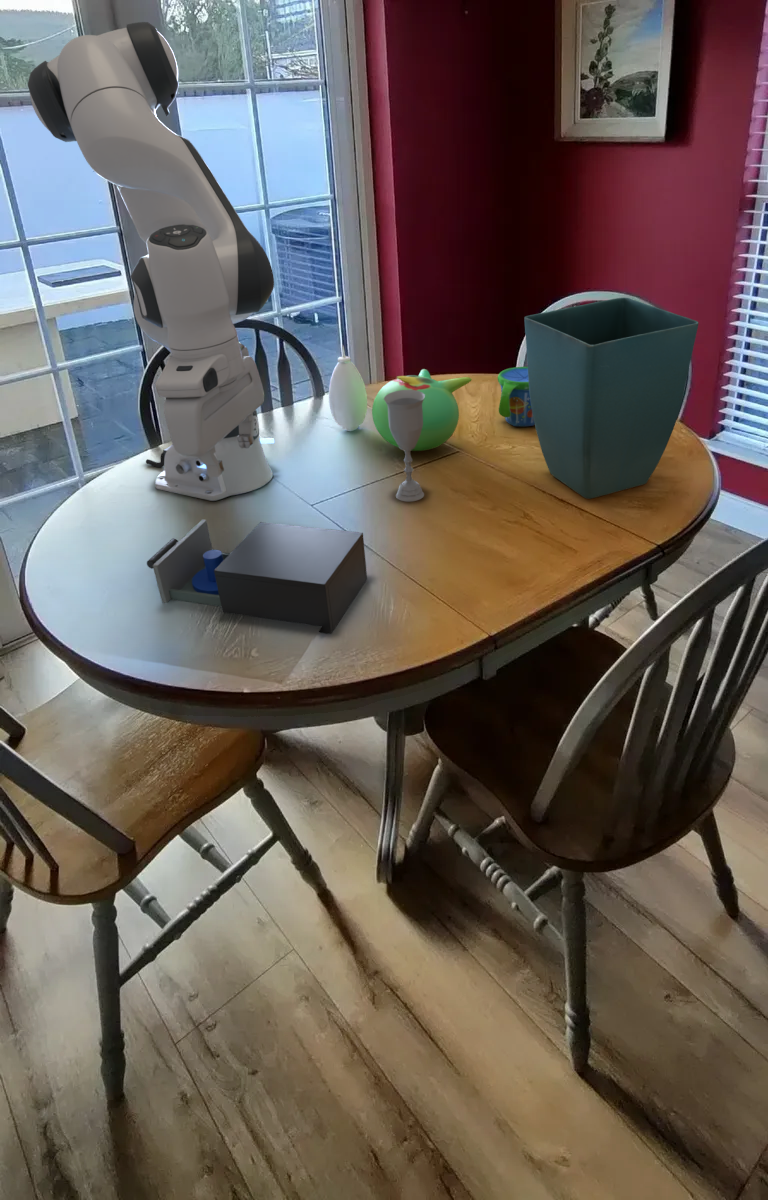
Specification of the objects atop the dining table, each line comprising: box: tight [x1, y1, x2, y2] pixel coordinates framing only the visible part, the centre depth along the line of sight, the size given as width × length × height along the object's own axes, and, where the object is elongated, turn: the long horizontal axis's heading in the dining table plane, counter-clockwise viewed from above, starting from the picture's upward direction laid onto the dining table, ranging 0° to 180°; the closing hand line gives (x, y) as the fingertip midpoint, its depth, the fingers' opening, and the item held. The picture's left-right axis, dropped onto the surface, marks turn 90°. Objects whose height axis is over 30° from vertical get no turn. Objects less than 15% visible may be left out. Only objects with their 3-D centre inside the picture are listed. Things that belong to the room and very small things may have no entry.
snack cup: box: [497, 366, 535, 428], centre depth 170 cm, size 16×10×10 cm
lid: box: [192, 549, 224, 595], centre depth 123 cm, size 8×8×5 cm
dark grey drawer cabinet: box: [214, 521, 368, 635], centre depth 119 cm, size 17×15×8 cm
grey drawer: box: [146, 519, 231, 607], centre depth 123 cm, size 20×14×7 cm
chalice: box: [384, 390, 425, 502], centre depth 142 cm, size 7×7×18 cm
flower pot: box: [523, 297, 700, 500], centre depth 140 cm, size 20×20×28 cm
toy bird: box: [371, 368, 473, 452], centre depth 162 cm, size 18×17×15 cm
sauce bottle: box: [328, 344, 368, 432], centre depth 171 cm, size 8×8×18 cm
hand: (232, 460), depth 115 cm, fingers open, 8 cm apart
